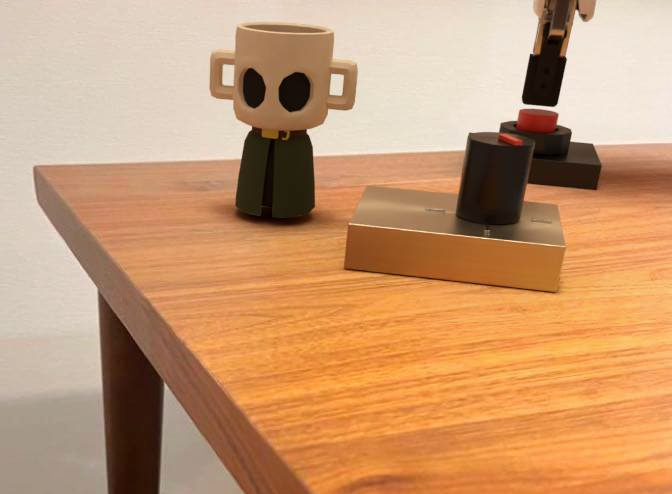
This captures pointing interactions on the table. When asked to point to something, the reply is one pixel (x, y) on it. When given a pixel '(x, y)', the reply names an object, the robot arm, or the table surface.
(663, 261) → the table surface
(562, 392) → the table surface
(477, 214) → the knob
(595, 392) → the table surface
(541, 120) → the button
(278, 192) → the character mug
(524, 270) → the panel
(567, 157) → the button box
